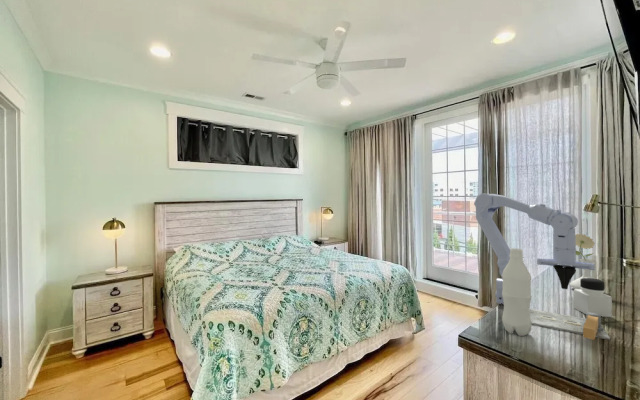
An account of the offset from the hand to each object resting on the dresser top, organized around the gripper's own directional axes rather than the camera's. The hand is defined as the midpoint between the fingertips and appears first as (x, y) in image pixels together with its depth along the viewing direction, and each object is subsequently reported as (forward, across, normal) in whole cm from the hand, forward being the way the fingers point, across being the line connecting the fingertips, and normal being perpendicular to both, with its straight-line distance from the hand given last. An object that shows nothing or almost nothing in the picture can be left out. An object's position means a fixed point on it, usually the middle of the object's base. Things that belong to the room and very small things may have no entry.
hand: (564, 288), depth 93 cm
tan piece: (+9, +4, -12) cm, 15 cm away
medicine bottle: (+10, +9, +11) cm, 17 cm away
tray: (+10, -1, -6) cm, 12 cm away
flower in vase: (+10, +13, +43) cm, 46 cm away
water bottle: (+10, -14, -22) cm, 28 cm away
